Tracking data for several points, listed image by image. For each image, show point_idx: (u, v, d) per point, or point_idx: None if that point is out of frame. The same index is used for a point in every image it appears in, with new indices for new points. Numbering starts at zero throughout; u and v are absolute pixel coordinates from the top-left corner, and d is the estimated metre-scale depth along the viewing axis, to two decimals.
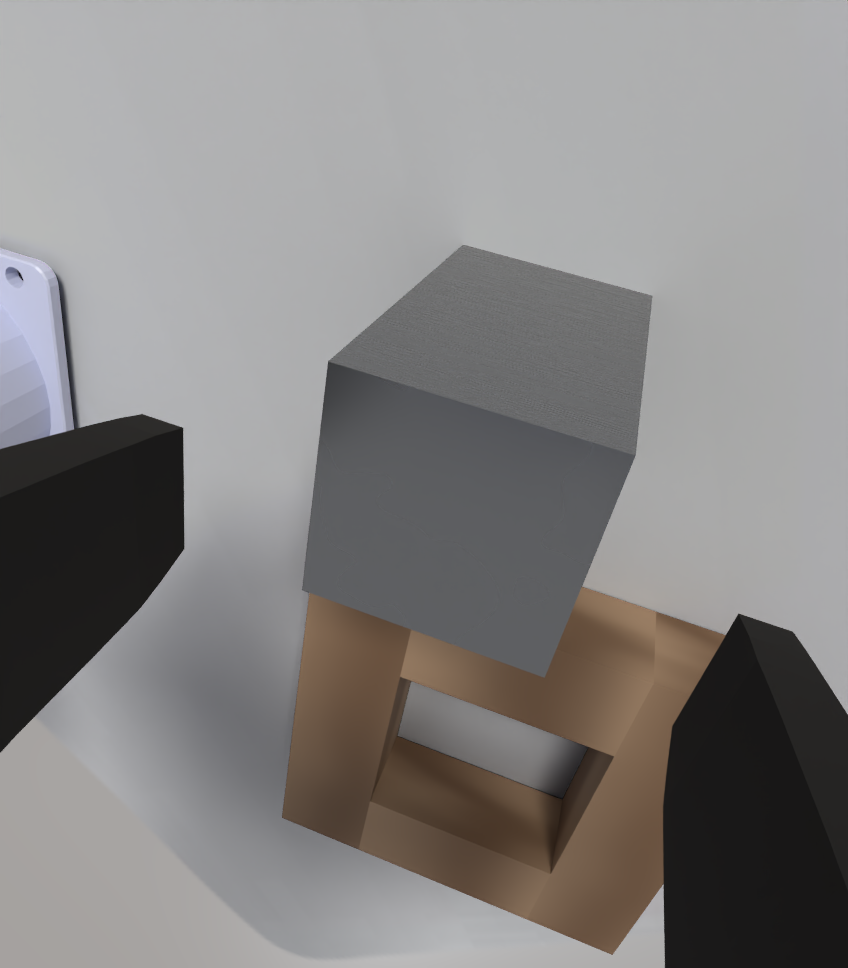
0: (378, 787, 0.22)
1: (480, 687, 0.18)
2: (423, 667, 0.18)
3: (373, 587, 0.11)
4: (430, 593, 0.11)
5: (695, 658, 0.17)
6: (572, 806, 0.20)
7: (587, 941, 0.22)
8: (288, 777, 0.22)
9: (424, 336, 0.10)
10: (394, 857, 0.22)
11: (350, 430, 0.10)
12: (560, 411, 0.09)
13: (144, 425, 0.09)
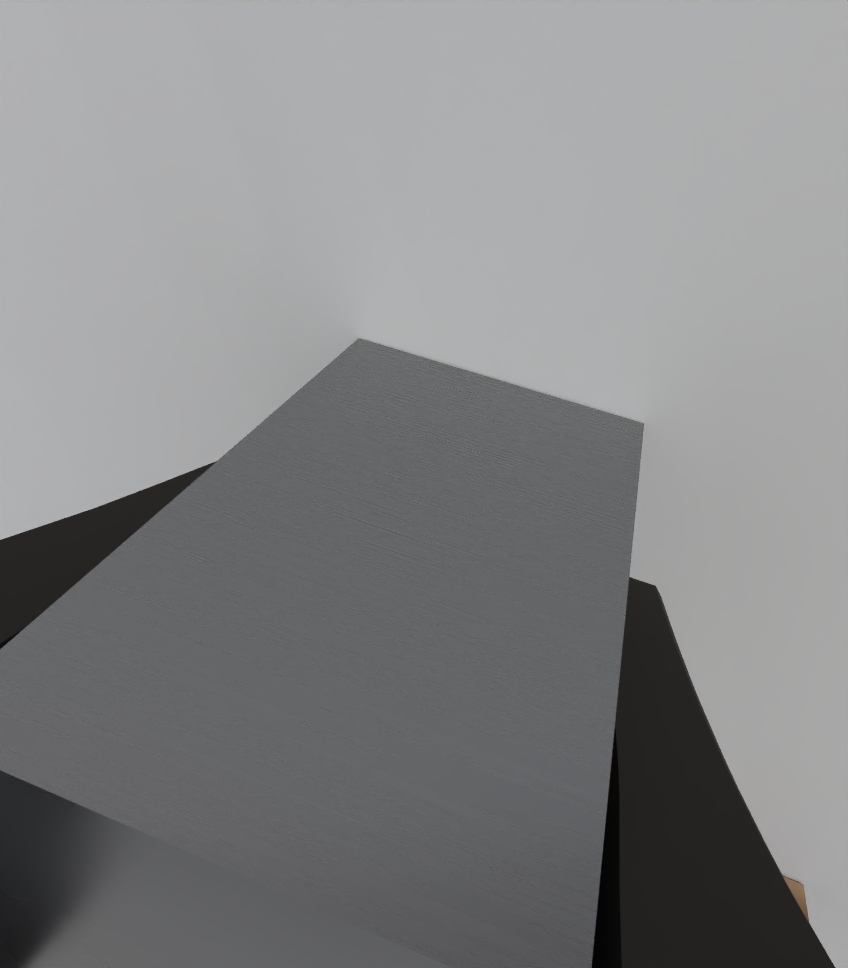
0: None
1: None
2: None
3: None
4: None
5: None
6: None
7: None
8: None
9: (192, 595, 0.05)
10: None
11: None
12: (427, 839, 0.04)
13: None
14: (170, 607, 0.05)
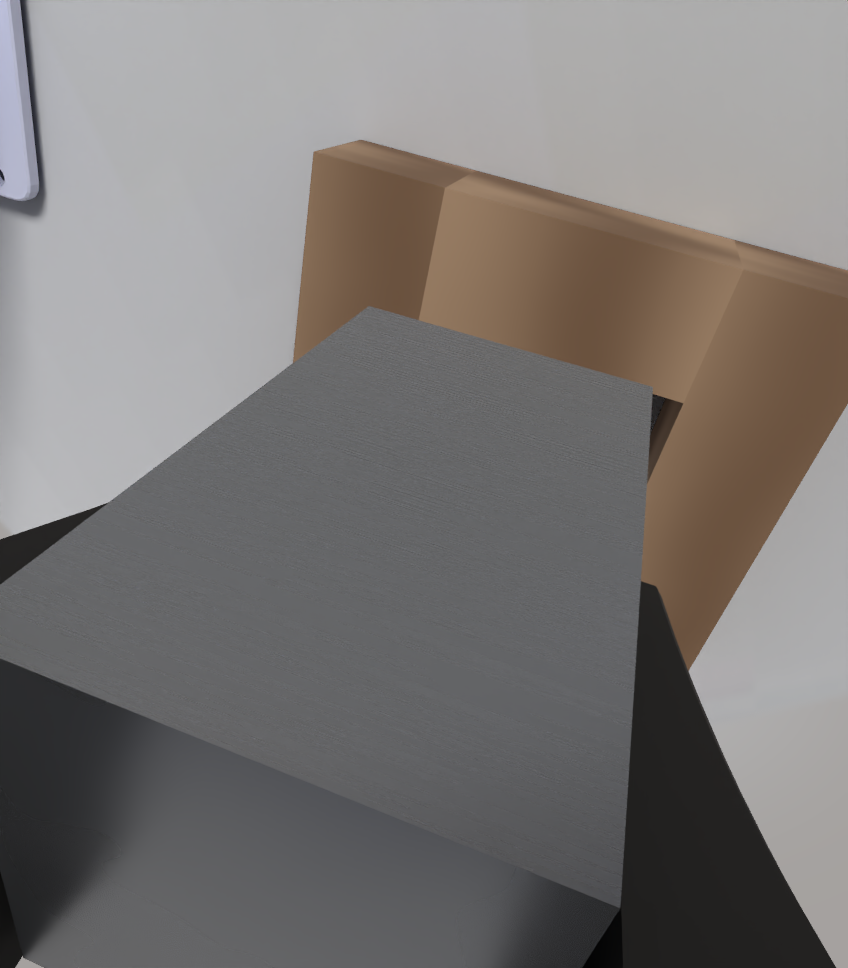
0: None
1: (518, 320, 0.14)
2: (448, 301, 0.14)
3: None
4: None
5: (789, 267, 0.13)
6: None
7: None
8: None
9: (214, 522, 0.05)
10: None
11: (19, 754, 0.04)
12: (455, 740, 0.04)
13: None
14: (192, 533, 0.05)
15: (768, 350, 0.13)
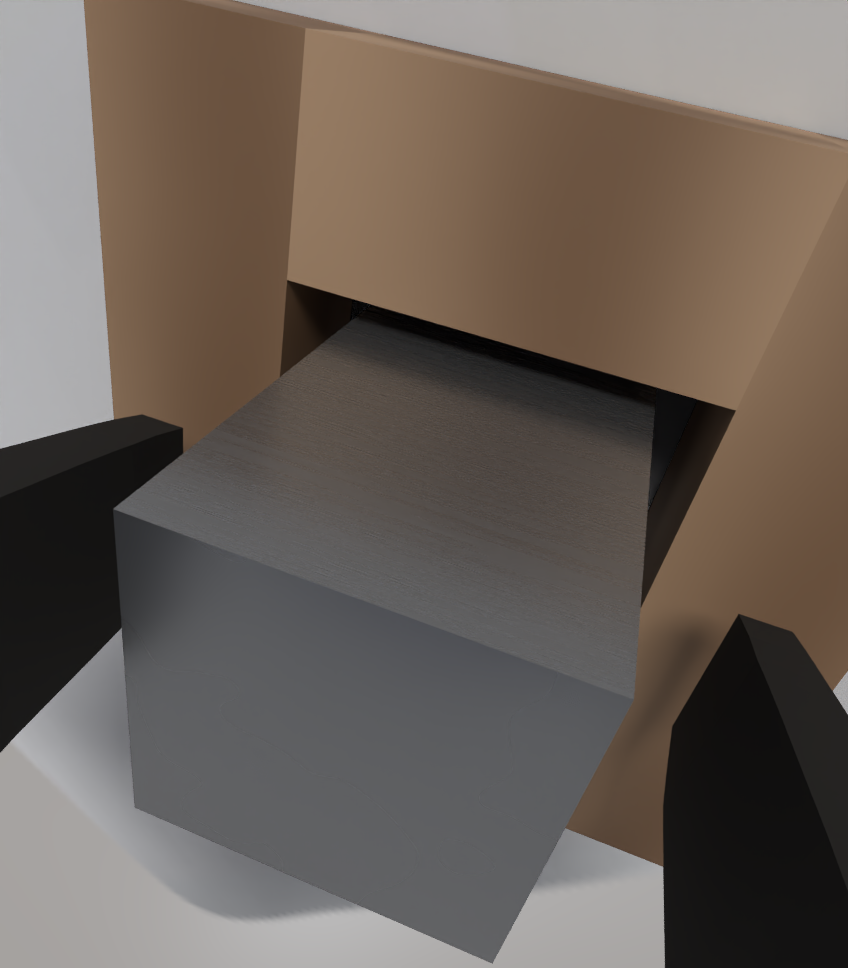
0: None
1: (448, 270, 0.08)
2: (330, 241, 0.08)
3: (232, 818, 0.07)
4: (314, 837, 0.07)
5: None
6: None
7: (646, 854, 0.12)
8: None
9: (304, 442, 0.07)
10: None
11: (165, 612, 0.06)
12: (507, 594, 0.05)
13: (144, 425, 0.09)
14: (289, 449, 0.06)
15: None
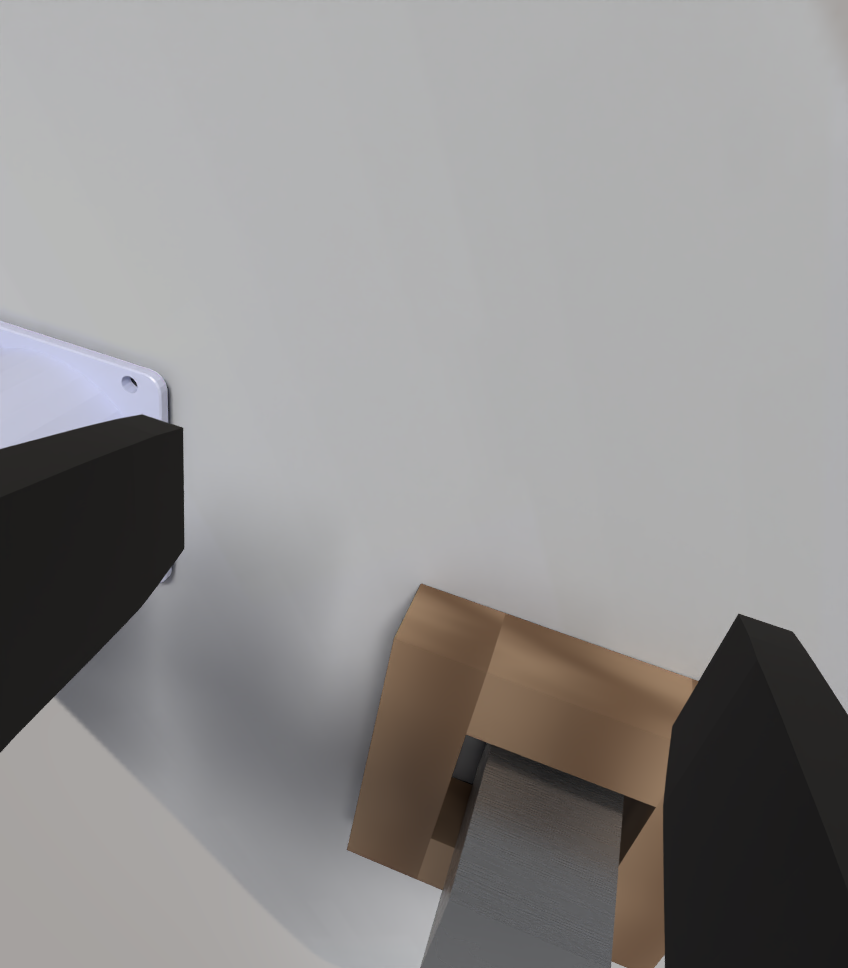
0: (437, 825, 0.24)
1: (538, 746, 0.20)
2: (487, 727, 0.20)
3: None
4: None
5: None
6: None
7: (624, 964, 0.24)
8: (356, 815, 0.24)
9: (494, 849, 0.18)
10: None
11: (457, 924, 0.18)
12: (571, 926, 0.17)
13: (144, 425, 0.09)
14: (490, 855, 0.18)
15: None
